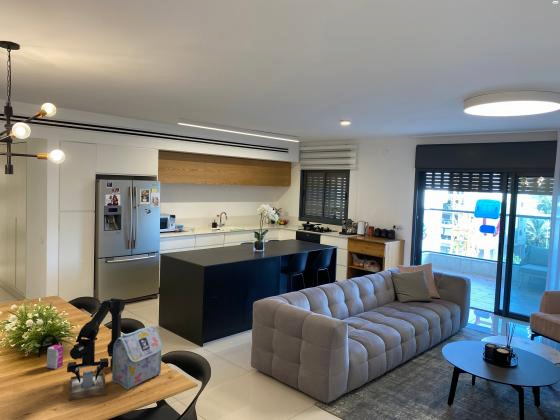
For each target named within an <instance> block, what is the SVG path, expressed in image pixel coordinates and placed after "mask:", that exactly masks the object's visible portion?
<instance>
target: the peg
mask: <svg viewBox="0 0 560 420" xmlns="http://www.w3.org/2000/svg"><path fill="white" fill-rule="evenodd" d="M93 374H94V370H93V369H91V370H85V371H82V375H83V388H86V387H93Z"/></svg>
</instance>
